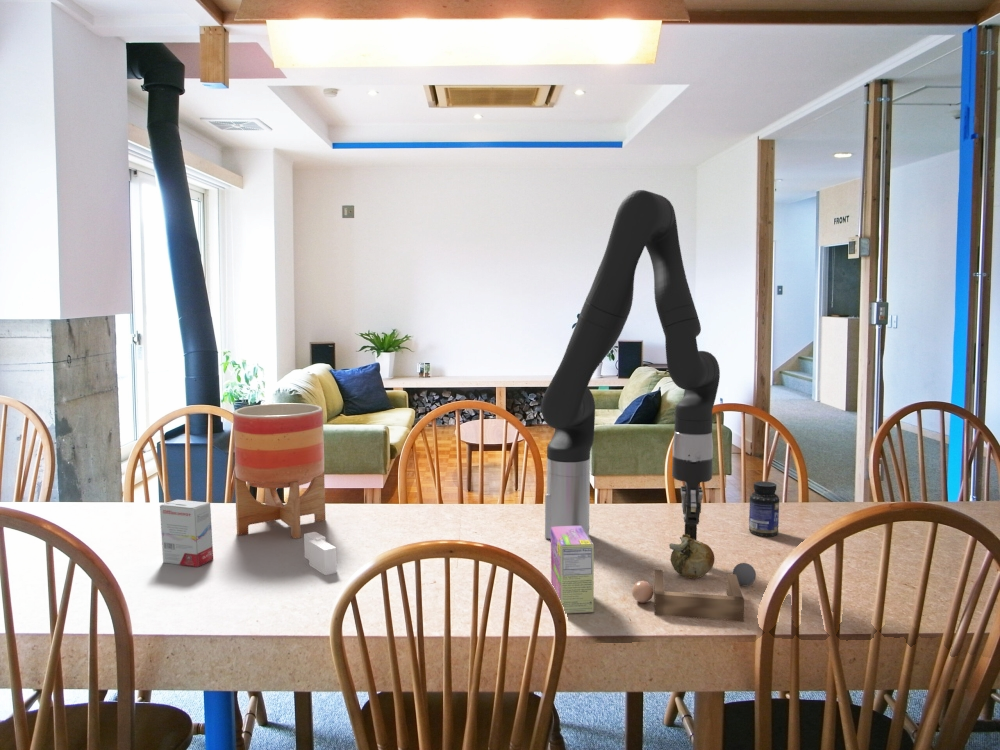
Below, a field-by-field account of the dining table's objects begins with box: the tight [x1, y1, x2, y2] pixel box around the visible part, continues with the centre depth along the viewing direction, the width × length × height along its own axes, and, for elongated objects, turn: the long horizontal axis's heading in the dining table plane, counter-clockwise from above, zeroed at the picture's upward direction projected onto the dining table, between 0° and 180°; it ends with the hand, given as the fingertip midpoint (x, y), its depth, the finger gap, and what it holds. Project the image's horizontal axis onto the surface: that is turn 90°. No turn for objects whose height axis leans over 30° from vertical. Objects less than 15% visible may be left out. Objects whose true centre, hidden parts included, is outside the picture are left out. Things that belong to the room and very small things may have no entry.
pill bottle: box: [748, 480, 780, 538], centre depth 167 cm, size 6×6×11 cm
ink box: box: [159, 499, 214, 568], centre depth 150 cm, size 9×5×12 cm, turn 71°
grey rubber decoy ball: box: [732, 562, 757, 587], centre depth 138 cm, size 4×4×4 cm
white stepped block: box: [303, 531, 338, 576], centre depth 149 cm, size 15×11×6 cm
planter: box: [232, 402, 326, 539], centre depth 171 cm, size 20×20×27 cm
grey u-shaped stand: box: [653, 568, 745, 622], centre depth 130 cm, size 14×12×4 cm
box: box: [550, 526, 595, 615], centre depth 130 cm, size 10×6×12 cm, turn 5°
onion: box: [669, 533, 716, 579], centre depth 142 cm, size 8×8×8 cm
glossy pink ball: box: [631, 580, 654, 604], centre depth 131 cm, size 4×4×4 cm
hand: (690, 541), depth 150 cm, fingers closed
